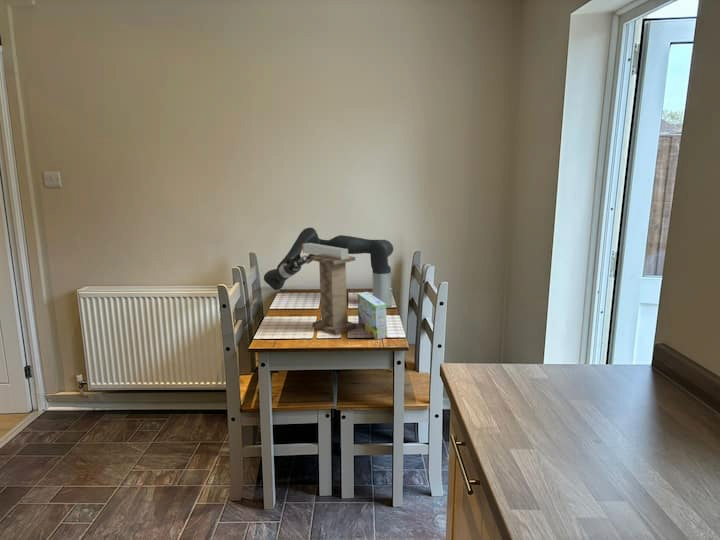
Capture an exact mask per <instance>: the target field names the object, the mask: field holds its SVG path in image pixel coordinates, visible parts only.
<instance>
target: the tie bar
mask: <svg viewBox="0 0 720 540" xmlns="http://www.w3.org/2000/svg"><path fill="white" fill-rule="evenodd" d="M302 245H303V249H302V254H303V253H304V254H307V255H309V254H313V255H318V256H324V257H329V258H334V259H340V260H343V259H348V256H349V254H348V249H345V248H339V247H333V246H326V245H320V244H314V243H305V244H302Z"/></svg>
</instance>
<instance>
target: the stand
mask: <svg viewBox="0 0 720 540" xmlns="http://www.w3.org/2000/svg"><path fill="white" fill-rule="evenodd" d="M310 260H313V262H318V263H319V264H318V265H319V266H318V267H319V290H320V291H319V292H320V314H321V315H320V316H321V317H320V320H317V321H313V322H311V323H312V325H311V326H312V327H313V328H315V329H317V330H320V331H324V332H327V333H329V334H332V335H334V336H338V335H340V334H345V333H347V332H349V331H352V330H356V329H357V327H358V326H357V325H358V324H357V323H355V322H351V321H349V320H348V312H347V311H348V308H347V306H348V305H347V275H346V274H347V271H346V268H347V267H346V263H350V262H354V261H355V262H356V257H355V256H353V255H352V256H351V255H348V259H343V260H340V259H334V258H329V257H324V256H318V255H315V256H310Z"/></svg>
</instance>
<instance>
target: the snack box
mask: <svg viewBox="0 0 720 540" xmlns="http://www.w3.org/2000/svg"><path fill="white" fill-rule="evenodd" d="M356 297H357V298H356V299H357V300H356V301H357V318H358V322H357V323H358V324H357V325H359V327H360V328H361V329H363V330H364V331H365V332H367V334H369V335H370V336H371V337H372V338H373V340H375V341H377V340H378V341H379V340H383V339H387V338H388V333H387V332H388V330H387V329H388V328H387V326H388V325H387V321H388V320H387V307H386V304H385V303H383V302H382V301H380V300H379V299H377V298H376V297H374V296H373V294H371V293H370V292H369V291H365V292H357V293H356Z"/></svg>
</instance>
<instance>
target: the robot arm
mask: <svg viewBox="0 0 720 540" xmlns="http://www.w3.org/2000/svg"><path fill="white" fill-rule="evenodd" d="M319 237H320V236H319V235H318V233H317V230H316V229H315V228H314V227H306V228H304V229H303V230H301V232H300V233H299V235H298V237H297V238H296V240H295V242H294V243H293V244H292V247H290V250H289V251H288V253H286V255H285V256H284V258H283V259H282V260H281V261H280V262H279V263H278V265H277V267H276V268H274V269H270V270H267V271H266V272H265V273H264V275H263V280H264V282H265V283H266V284H267V285H269V286H270V288H272V289H273V290H274V291H280V290H281V289H282V288H283V287H284V285H285V282H286V281H287V280H289V278H292V277H293V276H294V275H296V274H297V273H299V272H300V271H301V269H302V266H304V265H305V264H307V265H309V264H310V263H312V261H313V260H310V256H315V255H313V254H307V255H303V256H301V254H302V252H303V245H302V244H305V243H314V244H320V245H326V246H333V247H339V248H345V249H348V255H358V254H370V267H371V269H372V295H373V296H374V297H376V298H377V299H379V300H380V301H382V302H383V303H385V304H386V308H387V307H392V301H393V300H392V298H393V297H392V295H393V294H392V292H393V291H392V286H391V285H392V274H391V273H392V267H391V266H390V265H389V262H388V261H389V260H388V257H390V256H392V254H393V252H394V245H393V244H392V242H390V241H389V240H387V239H369V238H362V237H357V236H352V235H351V236H350V235H341V234H340V235H337V236H334V237H333V238H330V239H322V238H319ZM313 262H314V261H313Z"/></svg>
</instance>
